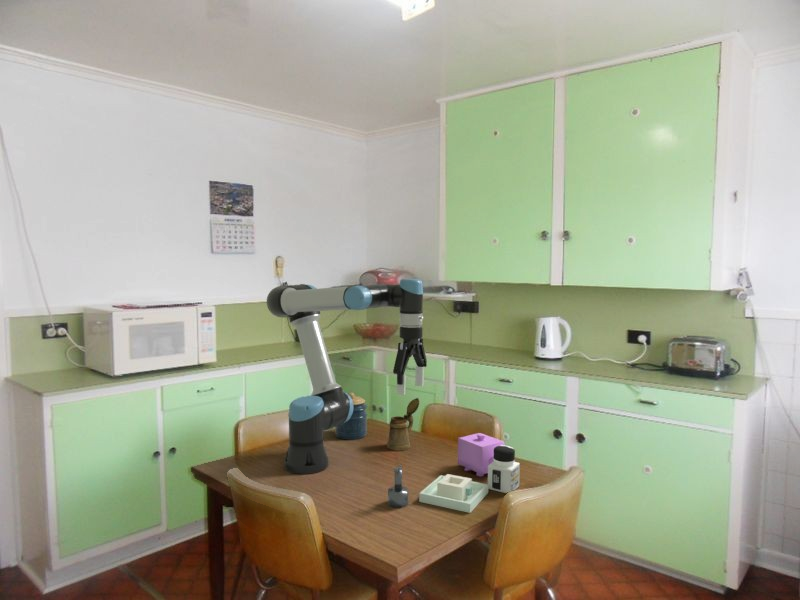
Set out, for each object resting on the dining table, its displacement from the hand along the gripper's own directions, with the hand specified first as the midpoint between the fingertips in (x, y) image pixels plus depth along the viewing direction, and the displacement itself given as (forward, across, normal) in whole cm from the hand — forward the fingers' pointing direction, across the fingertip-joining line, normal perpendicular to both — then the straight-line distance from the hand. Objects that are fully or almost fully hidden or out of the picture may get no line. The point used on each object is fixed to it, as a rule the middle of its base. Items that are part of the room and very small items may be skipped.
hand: (410, 390), depth 190 cm
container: (+29, +4, -31) cm, 43 cm away
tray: (+29, -10, -20) cm, 36 cm away
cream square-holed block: (+28, -10, -20) cm, 36 cm away
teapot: (+29, +14, -21) cm, 38 cm away
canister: (+29, +27, +40) cm, 56 cm away
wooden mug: (+29, +25, +15) cm, 41 cm away
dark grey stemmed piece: (+29, -22, -7) cm, 37 cm away
